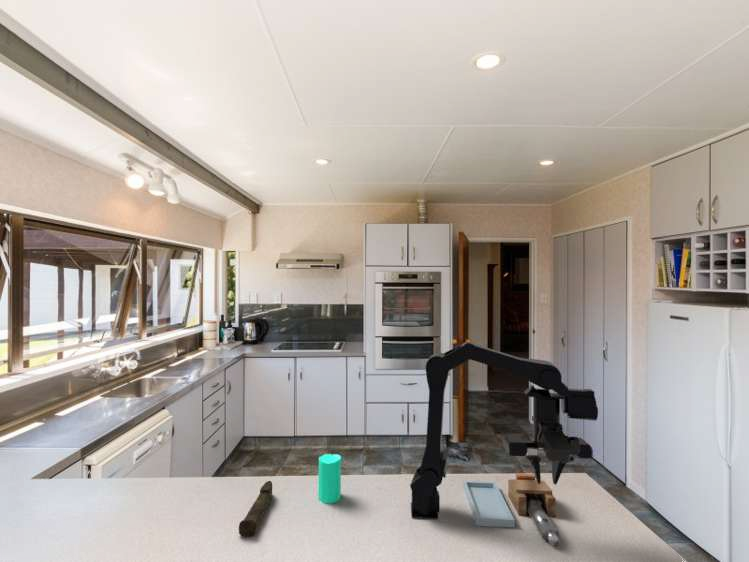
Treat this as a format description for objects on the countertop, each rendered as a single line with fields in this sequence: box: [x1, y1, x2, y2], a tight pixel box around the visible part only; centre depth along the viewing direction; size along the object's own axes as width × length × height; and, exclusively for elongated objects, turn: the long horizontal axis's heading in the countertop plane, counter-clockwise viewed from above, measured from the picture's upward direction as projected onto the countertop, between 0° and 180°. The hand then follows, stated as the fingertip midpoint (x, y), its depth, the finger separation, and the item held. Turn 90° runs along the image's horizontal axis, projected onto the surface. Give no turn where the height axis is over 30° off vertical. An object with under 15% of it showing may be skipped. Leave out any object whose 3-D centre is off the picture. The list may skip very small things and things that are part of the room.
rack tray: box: [462, 480, 516, 528], centre depth 102 cm, size 9×19×2 cm, turn 177°
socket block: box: [507, 478, 556, 518], centre depth 102 cm, size 9×9×5 cm
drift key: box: [515, 473, 541, 505], centre depth 103 cm, size 5×9×6 cm, turn 177°
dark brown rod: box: [238, 480, 273, 538], centre depth 97 cm, size 19×4×5 cm, turn 177°
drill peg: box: [526, 500, 560, 547], centre depth 92 cm, size 4×13×4 cm, turn 177°
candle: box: [317, 453, 342, 504], centre depth 105 cm, size 6×6×12 cm
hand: (546, 483), depth 91 cm, fingers open, 3 cm apart
